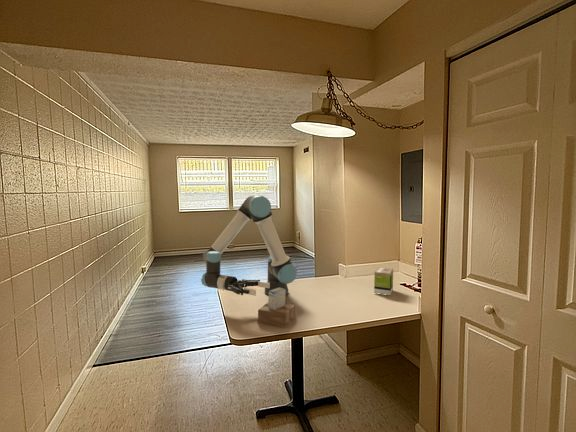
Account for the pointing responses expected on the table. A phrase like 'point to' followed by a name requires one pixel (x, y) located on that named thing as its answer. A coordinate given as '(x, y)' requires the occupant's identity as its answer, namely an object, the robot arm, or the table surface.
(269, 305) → the medicine box
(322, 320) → the table surface
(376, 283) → the tea box
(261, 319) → the walnut block
